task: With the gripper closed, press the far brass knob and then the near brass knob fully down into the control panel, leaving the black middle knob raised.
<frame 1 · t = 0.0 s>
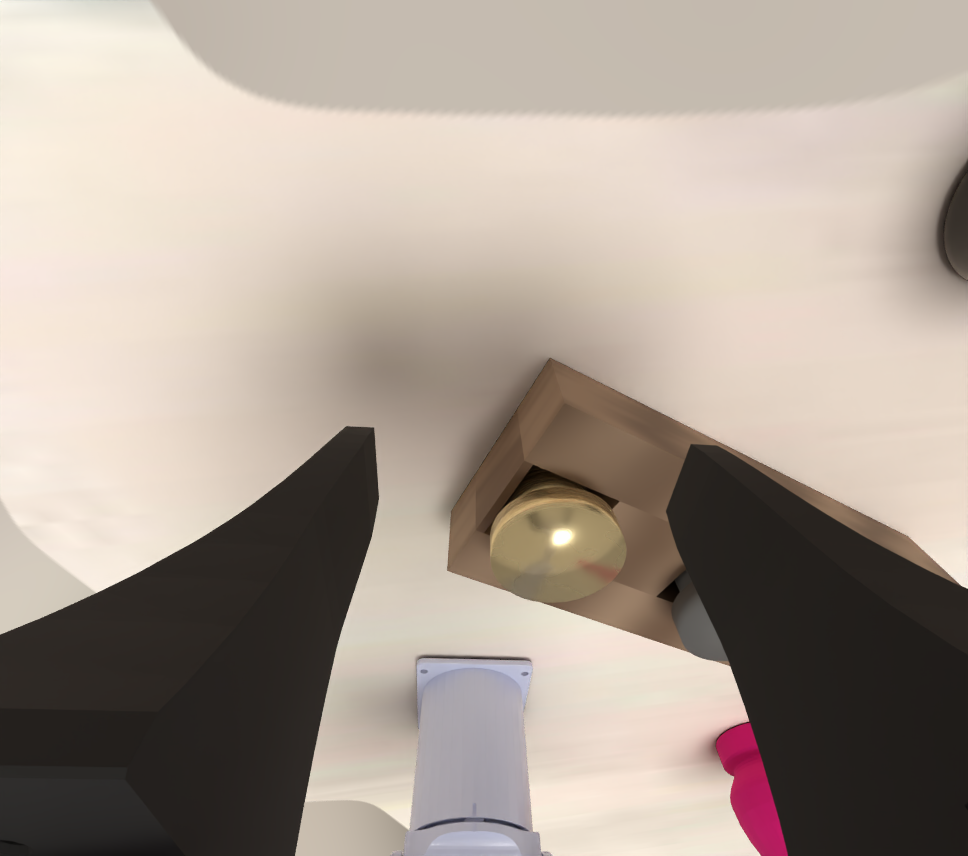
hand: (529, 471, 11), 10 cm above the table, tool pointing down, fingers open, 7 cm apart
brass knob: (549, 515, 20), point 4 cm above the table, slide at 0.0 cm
middle black knob: (717, 582, 22), point 4 cm above the table, slide at 0.0 cm
pepper mill: (751, 735, 39), on the table
control panel: (686, 524, 26), on the table
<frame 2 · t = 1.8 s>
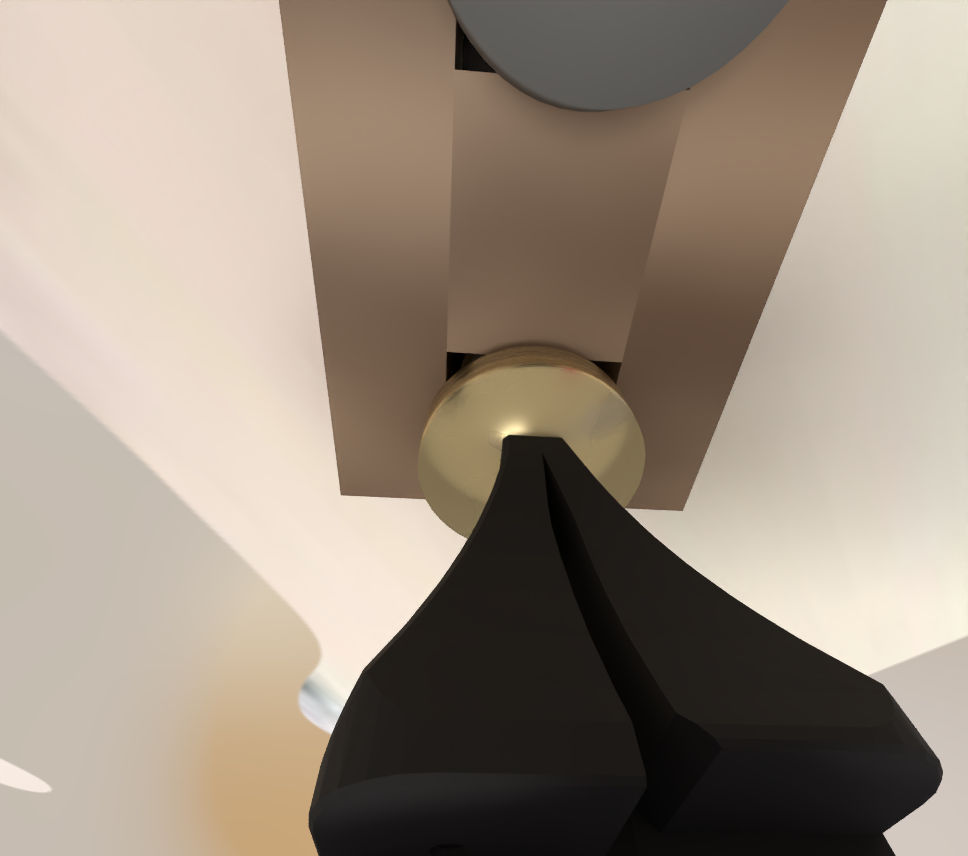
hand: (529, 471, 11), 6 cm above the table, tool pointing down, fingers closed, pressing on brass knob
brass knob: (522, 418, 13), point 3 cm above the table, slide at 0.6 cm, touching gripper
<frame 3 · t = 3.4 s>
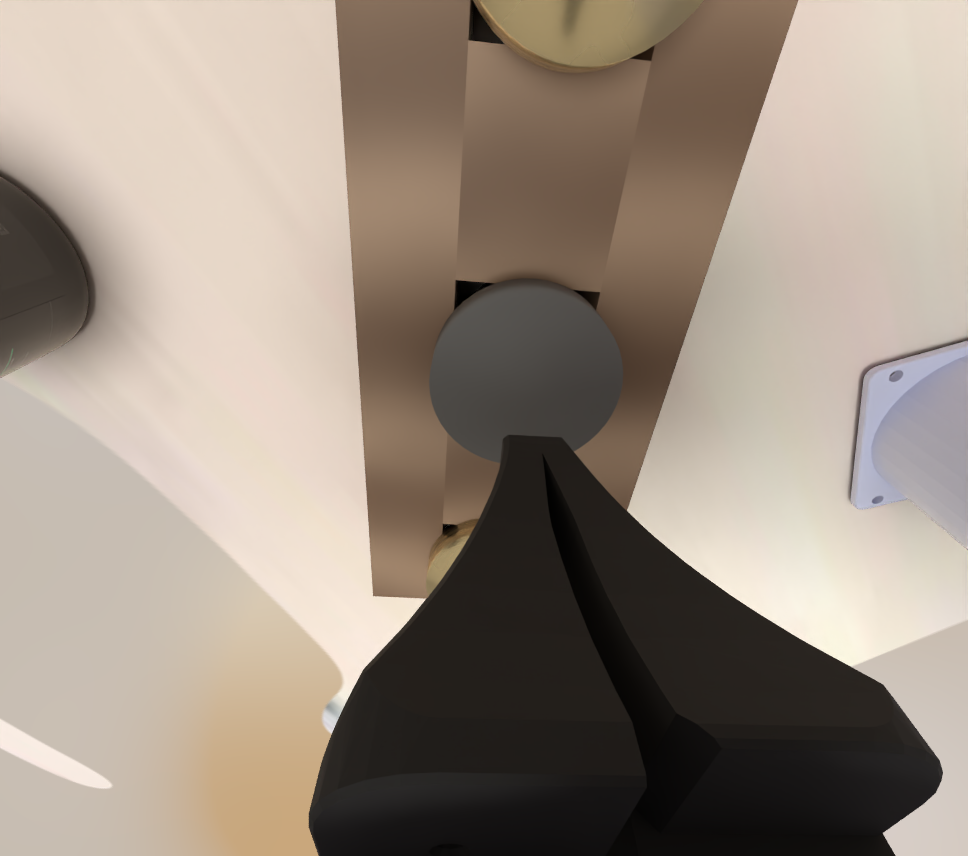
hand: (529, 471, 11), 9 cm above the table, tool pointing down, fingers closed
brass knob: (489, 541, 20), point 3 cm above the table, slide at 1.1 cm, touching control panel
middle black knob: (519, 352, 15), point 4 cm above the table, slide at 0.0 cm
control panel: (511, 312, 18), on the table
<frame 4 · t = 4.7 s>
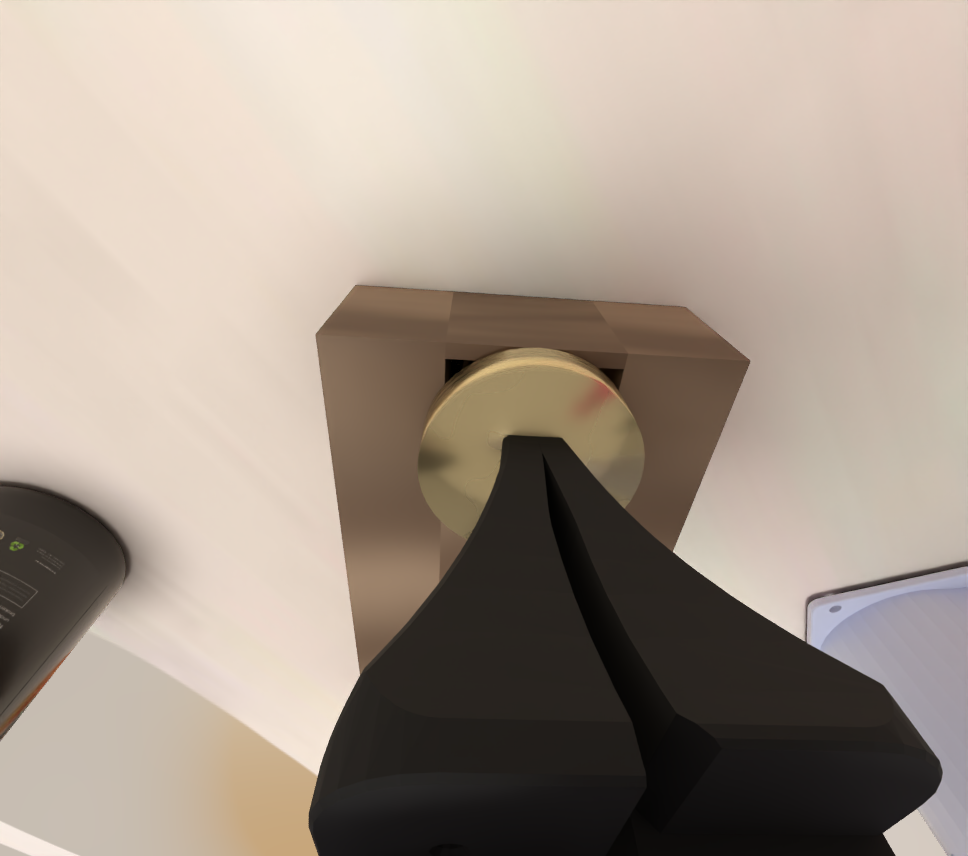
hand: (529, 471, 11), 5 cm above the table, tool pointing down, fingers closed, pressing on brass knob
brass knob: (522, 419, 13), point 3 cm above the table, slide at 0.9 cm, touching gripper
supplement bottle: (47, 540, 19), on the table
control panel: (492, 568, 20), on the table
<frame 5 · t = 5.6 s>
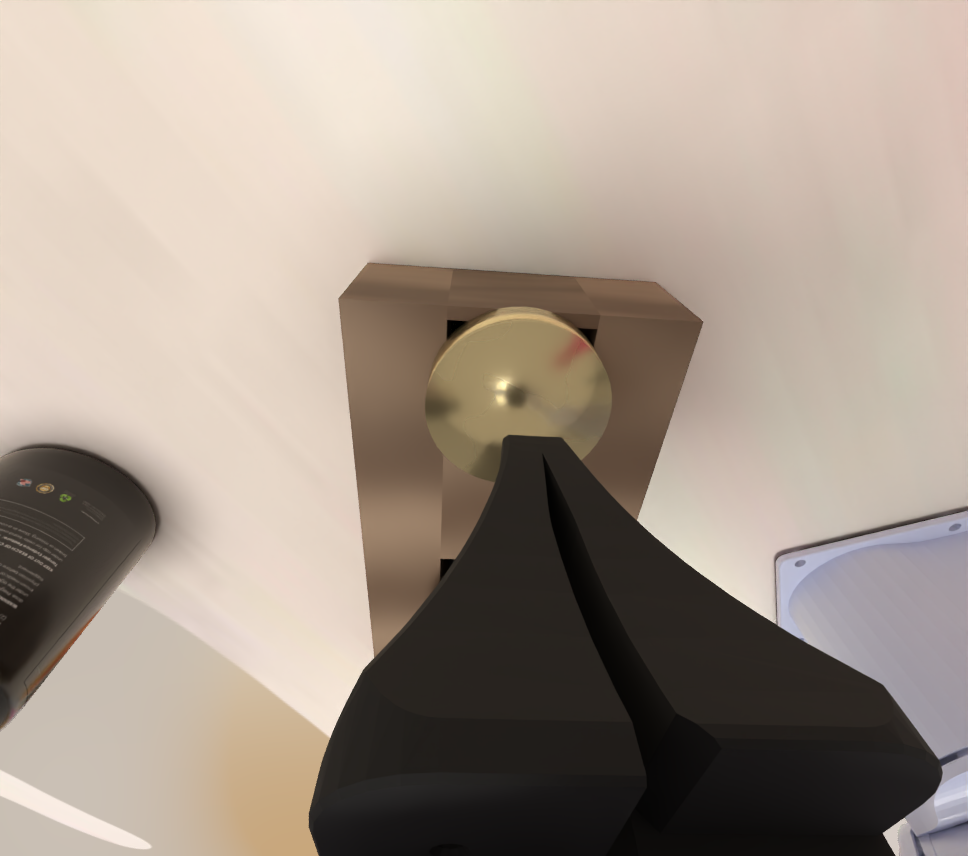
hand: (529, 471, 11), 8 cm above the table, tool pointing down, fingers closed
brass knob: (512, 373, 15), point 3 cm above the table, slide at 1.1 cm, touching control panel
supplement bottle: (84, 500, 21), on the table
middle black knob: (490, 593, 19), point 4 cm above the table, slide at 0.0 cm
control panel: (488, 526, 22), on the table
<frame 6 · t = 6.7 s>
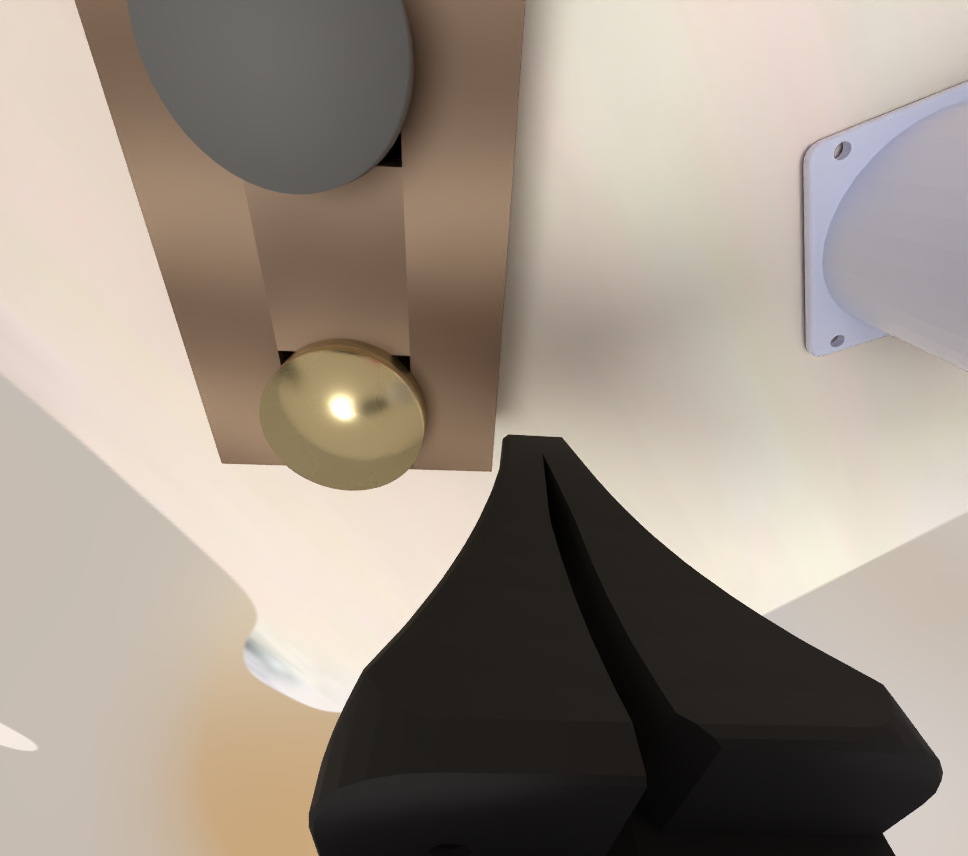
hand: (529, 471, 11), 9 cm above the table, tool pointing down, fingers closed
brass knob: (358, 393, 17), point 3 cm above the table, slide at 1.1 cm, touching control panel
middle black knob: (309, 61, 11), point 4 cm above the table, slide at 0.0 cm
control panel: (348, 78, 14), on the table
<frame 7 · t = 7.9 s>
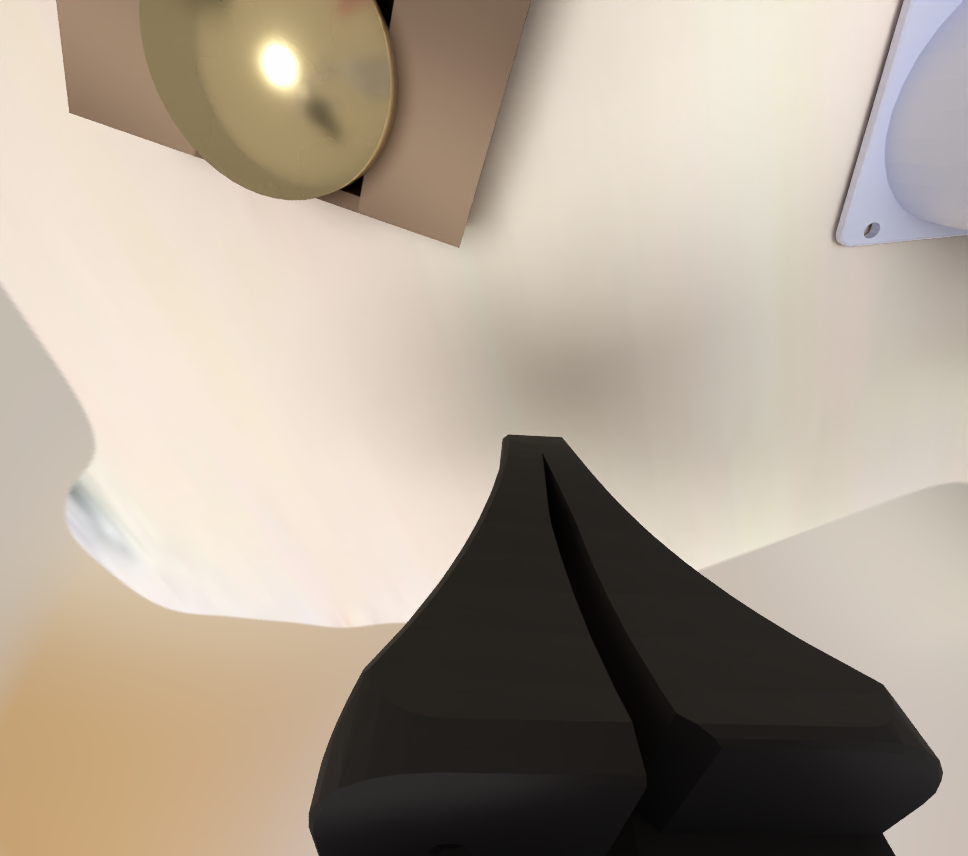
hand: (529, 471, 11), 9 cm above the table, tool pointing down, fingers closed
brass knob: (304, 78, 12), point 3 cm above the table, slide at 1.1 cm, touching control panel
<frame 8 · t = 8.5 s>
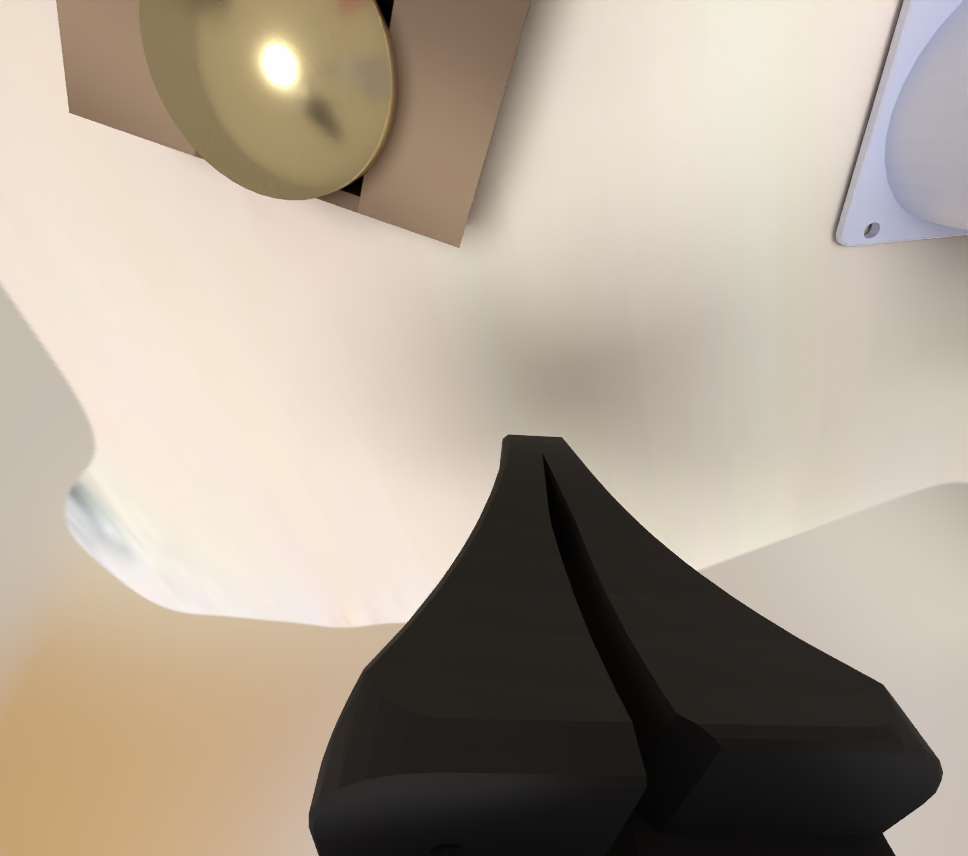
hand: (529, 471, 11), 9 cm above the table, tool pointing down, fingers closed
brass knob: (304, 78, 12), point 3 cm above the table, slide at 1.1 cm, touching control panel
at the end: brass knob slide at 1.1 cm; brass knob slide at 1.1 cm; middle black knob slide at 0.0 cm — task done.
